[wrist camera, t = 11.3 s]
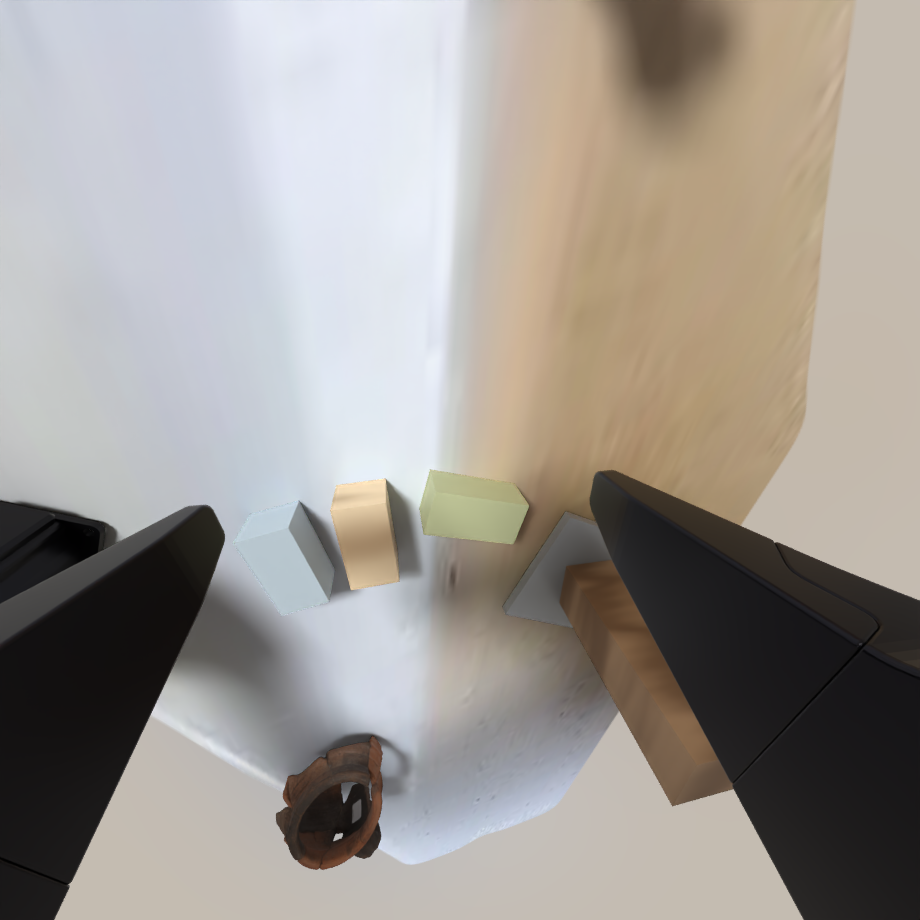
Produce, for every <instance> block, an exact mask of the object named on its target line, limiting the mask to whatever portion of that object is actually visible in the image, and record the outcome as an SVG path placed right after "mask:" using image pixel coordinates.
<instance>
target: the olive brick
mask: <svg viewBox="0 0 920 920" xmlns="http://www.w3.org/2000/svg"><path fill="white" fill-rule="evenodd" d="M528 508H529V505H528V503H527V502H526V500H525V499H524V497H523V496H522V494H521V493H520V491H519V490H518V488H517V487H516V485H515V484H514V483H508V482H502V481H496V480H490V479H484V478H478V477H472V476H466V475H460V474H454V473H448V472H442V471H436V470H430V472H429V475H428V479H427V483H426V486H425V490H424V493H423V497H422V501H421V504H420V508H419V510H420V516H421V522H422V528H423V534H424V535H432V536H441V537H451V538H460V539H469V540H478V541H487V542H496V543H505V544H514V542H515V539H516V537H517V534H518V532H519V529H520V527H521V525H522V522H523V520H524V517H525V515H526V512H527V510H528Z"/></svg>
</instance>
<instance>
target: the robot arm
mask: <svg viewBox="0 0 920 920" xmlns="http://www.w3.org/2000/svg"><path fill="white" fill-rule="evenodd" d="M590 507H591V510H592V512H593V515H594V518H595V520H596V523H597V525H598V528H599V530H600V533H601V535H602V538H603V540H604V543H605V545H606V548H607V550H608V553H609V555H610V557H611V560H612V562H613V564H614V566H615V568H616V570H617V572H618V573H619V575H620V577H621V579H622V581H623V583H624V585H625V586H626V588H627V590H628V592H629V594H630V596H631V598H632V600H633V601H634V603H635V605H636V607H637V609H638V611H639V613H640V614H641V616H642V618H643V620H644V622H645V624H646V626H647V628H648V629H649V631H650V633H651V635H652V637H653V639H654V641H655V642H656V644H657V646H658V648H659V650H660V652H661V654H662V656H663V657H664V659H665V661H666V663H667V665H668V667H669V669H670V670H671V672H672V674H673V676H674V678H675V680H676V682H677V684H678V685H679V687H680V689H681V691H682V693H683V695H684V697H685V698H686V700H687V702H688V704H689V706H690V708H691V710H692V712H693V713H694V715H695V717H696V719H697V721H698V723H699V725H700V726H701V728H702V730H703V732H704V734H705V736H706V738H707V740H708V741H709V743H710V745H711V747H712V749H713V751H714V753H715V754H716V756H717V758H718V760H719V762H720V764H721V766H722V768H723V769H724V771H725V773H726V775H727V777H728V779H729V781H730V782H731V783H733V784H732V787H733V789H734V791H735V792H736V794H737V796H738V798H739V800H740V802H741V804H742V806H743V807H744V809H745V811H746V813H747V815H748V817H749V818H750V820H751V822H752V824H753V826H754V828H755V830H756V832H757V834H758V835H759V837H760V839H761V841H762V843H763V845H764V846H765V848H766V850H767V852H768V854H769V855H770V858H771V860H772V862H773V863H774V865H775V867H776V869H777V871H778V873H779V874H780V876H781V878H782V880H783V882H784V884H785V886H786V888H787V889H788V891H789V893H790V895H791V897H792V899H793V901H794V903H795V904H796V906H797V908H798V910H799V912H800V914H801V916H802V917H803V919H804V920H920V600H917V599H914V598H912V597H909V596H907V595H904V594H902V593H899V592H897V591H894V590H891V589H889V588H886V587H884V586H881V585H879V584H876V583H874V582H871V581H869V580H866V579H864V578H861V577H859V576H856V575H854V574H851V573H849V572H846V571H844V570H841V569H839V568H836V567H834V566H831V565H829V564H827V563H825V562H822V561H820V560H818V559H815V558H813V557H810V556H808V555H806V554H803V553H801V552H799V551H796V550H794V549H792V548H790V547H788V546H785V545H783V544H781V543H778V542H776V543H774V541H773V540H771V539H769V538H767V537H765V536H762V535H760V534H758V533H755V532H753V531H751V530H749V529H746V528H744V527H742V526H740V525H737V524H735V523H733V522H730V521H728V520H726V519H724V518H721V517H719V516H717V515H715V514H712V513H710V512H708V511H705V510H703V509H701V508H699V507H696V506H694V505H692V504H690V503H687V502H685V501H683V500H681V499H678V498H676V497H674V496H671V495H669V494H667V493H665V492H662V491H660V490H658V489H656V488H653V487H651V486H649V485H646V484H644V483H642V482H640V481H637V480H635V479H633V478H631V477H628V476H626V475H624V474H621V473H619V472H617V471H614V470H607V471H598V472H597V473H596V474H595V475H594V479H593V484H592V489H591V495H590ZM90 529H91V530H93V531H94V532H93V531H91V530H90ZM104 536H105V527H104V526H103V525H102V524H101V523H99V522H96V521H91V520H87V519H82V518H77V517H72V516H67V515H63V514H58V513H53V512H48V511H43V510H39V509H34V508H29V507H24V506H19V505H15V504H10V503H5V502H0V920H54V919H55V917H56V915H57V913H58V911H59V909H60V906H61V904H62V902H63V900H64V898H65V896H66V893H67V892H68V890H69V885H68V884H69V883H71V882H72V880H73V878H74V876H75V874H76V872H77V870H78V867H79V865H80V863H81V861H82V859H83V857H84V855H85V853H86V850H87V848H88V846H89V844H90V842H91V840H92V838H93V836H94V834H95V832H96V829H97V827H98V825H99V823H100V821H101V819H102V817H103V814H104V812H105V810H106V808H107V806H108V804H109V802H110V800H111V797H112V795H113V793H114V791H115V789H116V787H117V785H118V782H119V781H120V779H121V776H122V774H123V772H124V770H125V768H126V766H127V764H128V762H129V759H130V757H131V755H132V753H133V751H134V749H135V747H136V745H137V743H138V740H139V738H140V736H141V734H142V732H143V730H144V728H145V726H146V723H147V721H148V719H149V717H150V715H151V713H152V711H153V709H154V707H155V704H156V702H157V700H158V698H159V696H160V694H161V692H162V690H163V687H164V685H165V683H166V681H167V679H168V677H169V675H170V673H171V670H172V668H173V666H174V664H175V662H176V660H177V658H178V656H179V654H180V651H181V649H182V647H183V645H184V643H185V641H186V639H187V637H188V634H189V632H190V630H191V628H192V626H193V624H194V622H195V620H196V617H197V615H198V613H199V611H200V609H201V606H202V604H203V602H204V599H205V596H206V594H207V591H208V588H209V585H210V582H211V579H212V577H213V574H214V571H215V568H216V565H217V562H218V559H219V556H220V554H221V551H222V548H223V545H224V541H225V534H224V530H223V528H222V526H221V524H220V522H219V520H218V519H217V517H216V515H215V513H214V511H213V509H212V508H211V507H210V506H208V505H196V506H188V507H185V508H183V509H181V510H179V511H177V512H175V513H173V514H172V515H170V516H168V517H166V518H164V519H162V520H160V521H158V522H156V523H154V524H152V525H150V526H149V527H147V528H145V529H143V530H141V531H139V532H137V533H135V534H133V535H131V536H129V537H128V538H126V539H124V540H122V541H120V542H118V543H116V544H114V545H112V546H110V547H108V548H106V549H105V550H103V543H104ZM102 550H103V551H102Z"/></svg>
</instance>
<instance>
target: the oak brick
mask: <svg viewBox="0 0 920 920" xmlns="http://www.w3.org/2000/svg"><path fill="white" fill-rule="evenodd" d="M330 512H331V516H332V520H333V523H334V527H335V531H336V535H337V539H338V542H339V546H340V550H341V554H342V558H343V562H344V565H345V569H346V573H347V577H348V581H349V584H350V588H351V590H356V589H361V588H367V587H372V586H378V585H383V584H389V583H394V582H399V565H398V550H397V544H396V538H395V532H394V526H393V520H392V514H391V508H390V503H389V497H388V491H387V485H386V479H379V480H372V481H364V482H357V483H349V484H342V485H336V489H335V493H334V497H333V501H332V506H331V510H330Z"/></svg>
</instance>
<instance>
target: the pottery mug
mask: <svg viewBox="0 0 920 920" xmlns="http://www.w3.org/2000/svg"><path fill="white" fill-rule="evenodd" d="M382 755H383V753H382V750H381V745H380V743H379V742H378V741H377V740H376V738H375V737H374V736H372V737H371V738H370V740H369V742H363V743H356V744H352V745H347V746H342V747H340V748H337V749H332V750H330V751H328V752H327V754H326V758H323V757H319V758H318V759H317V760H315V761H314V762H313V763H312V764H311V765H310V766H309V767H308V768H307V769H306V770H305V771H303V772H302V773H301V774H299V775H291V776H288V778H287V782H286V785H285V789H284V791H283V799H284V801H285V802H286V804H287V805H288V807H285V808H284V809H283V810H282V811H281V812H278V813H276V822H277V824H278V826H279V827H280V829H281V831H282V833H283V834H284V836H285V838H284V841H285V842H286V844H287V845H288V847H289V850H290V852H291V854H292V856H293V858H294V859H295V860H298V862H299V863H300V864H301V865H303V866H305V867H308V868H310V869H315V870H317V869H319V868H320V869H322V870H324V869H328V868H332V867H335V866H338V865H340V864H342V863H343V862H345V861H347V860H348V859H350V858H351V857H352V856H354V855H355V856H357V857H359V858H363V859H365V858H367V857H370V856H371V855H372V853H373V852H374V851H375V850H376V849H377V848H378V845H379V843H380V840H381V831H380V826H379V823H378V820H379V818H380V814H381V809H382V795H381V794H382V787H383V786H382V785H383V784H382V775H381V772H380V767H381V762H382ZM370 780H371V783H372V788H371V798H372V801H371V800H370V794H369V787H368V785H369V781H370ZM343 782H356V783H358V784H355V785H353V786H352V788H351V791H350V793H349V795H348V798H347V800H346V802H345V803H343V797H342V793H341V783H343ZM339 833H343V837H342V839H339V840H336V841H333V839H334V836H335V834H339Z"/></svg>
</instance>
